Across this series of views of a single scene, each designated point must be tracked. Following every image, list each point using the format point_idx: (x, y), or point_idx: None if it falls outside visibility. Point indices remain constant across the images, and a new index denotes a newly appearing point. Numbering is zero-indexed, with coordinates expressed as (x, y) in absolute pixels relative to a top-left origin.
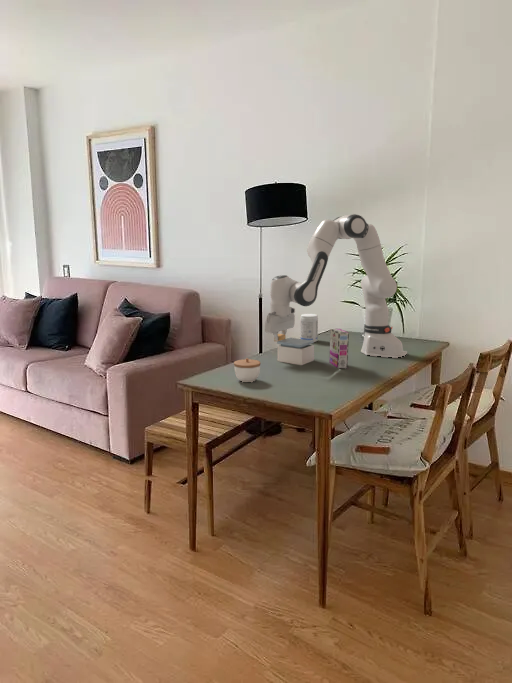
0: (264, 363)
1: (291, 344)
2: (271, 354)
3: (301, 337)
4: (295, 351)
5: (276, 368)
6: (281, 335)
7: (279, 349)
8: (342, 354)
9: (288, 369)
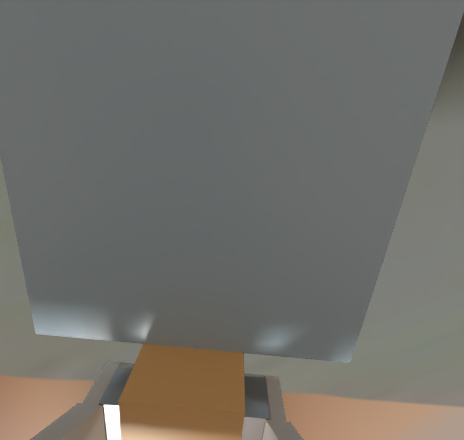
0: None
1: (415, 123)
2: (123, 351)
3: None
4: None
5: (445, 175)
6: (210, 422)
7: None
8: None
9: (451, 82)
